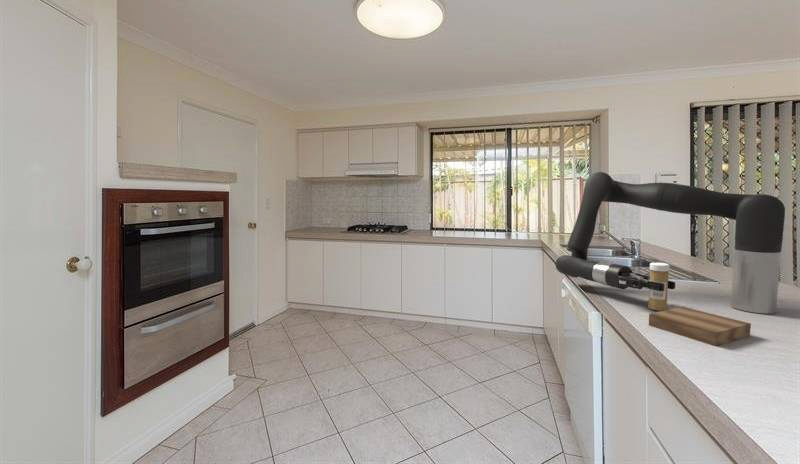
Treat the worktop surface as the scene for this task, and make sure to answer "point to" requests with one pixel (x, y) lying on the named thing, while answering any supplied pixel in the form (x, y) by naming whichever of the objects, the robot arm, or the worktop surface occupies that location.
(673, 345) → the worktop surface
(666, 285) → the spice jar
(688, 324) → the walnut base
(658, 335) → the worktop surface
